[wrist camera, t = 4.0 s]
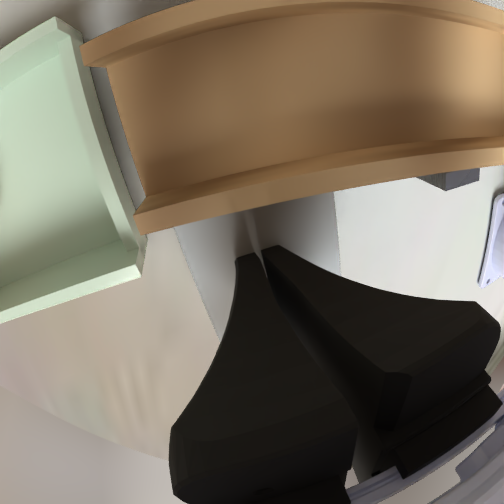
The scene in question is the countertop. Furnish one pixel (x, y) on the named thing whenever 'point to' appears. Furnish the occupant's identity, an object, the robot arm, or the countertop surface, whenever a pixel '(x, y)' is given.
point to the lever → (295, 116)
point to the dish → (58, 179)
